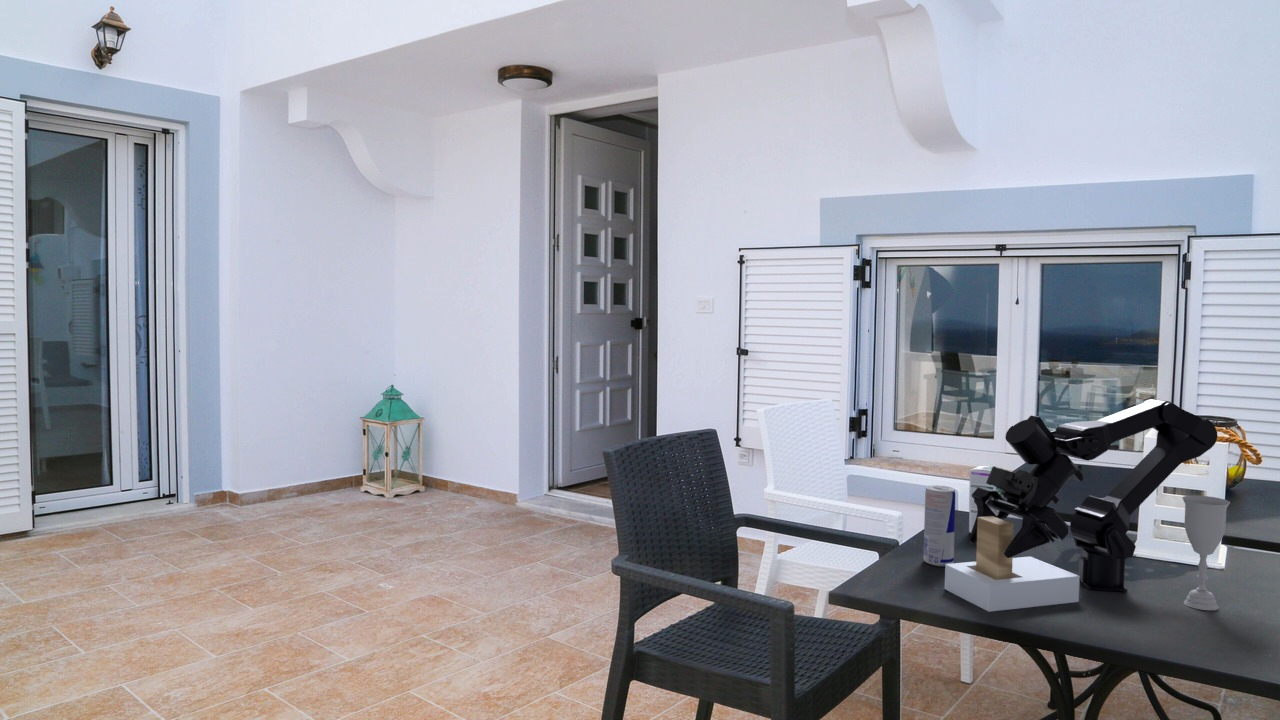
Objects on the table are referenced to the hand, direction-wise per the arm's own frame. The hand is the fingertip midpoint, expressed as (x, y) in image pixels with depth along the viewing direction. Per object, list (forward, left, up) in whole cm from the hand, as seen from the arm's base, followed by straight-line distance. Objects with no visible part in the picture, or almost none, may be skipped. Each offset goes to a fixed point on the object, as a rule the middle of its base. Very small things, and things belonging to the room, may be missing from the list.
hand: (987, 548), depth 153 cm
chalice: (-35, -3, -9) cm, 36 cm away
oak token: (-1, -1, -8) cm, 8 cm away
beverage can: (+5, -20, -9) cm, 22 cm away
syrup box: (-9, -46, -9) cm, 48 cm away
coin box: (-4, -2, -9) cm, 10 cm away
